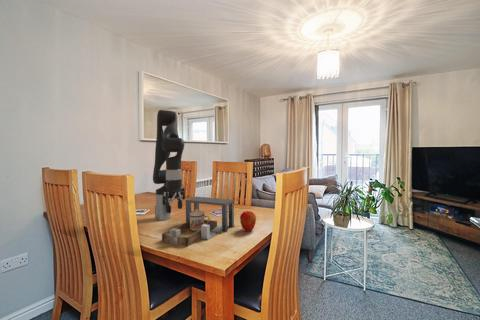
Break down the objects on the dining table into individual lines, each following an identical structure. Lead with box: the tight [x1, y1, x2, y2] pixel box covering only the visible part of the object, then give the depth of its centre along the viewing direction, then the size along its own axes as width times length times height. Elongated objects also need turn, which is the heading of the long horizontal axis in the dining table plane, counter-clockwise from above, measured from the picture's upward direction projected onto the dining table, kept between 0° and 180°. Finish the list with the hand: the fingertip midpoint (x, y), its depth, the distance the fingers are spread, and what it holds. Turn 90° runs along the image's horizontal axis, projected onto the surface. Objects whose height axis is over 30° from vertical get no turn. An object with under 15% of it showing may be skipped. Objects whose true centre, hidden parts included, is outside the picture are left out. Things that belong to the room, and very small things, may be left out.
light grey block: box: [199, 224, 216, 241], centre depth 125 cm, size 4×8×7 cm, turn 157°
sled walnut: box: [161, 218, 218, 247], centre depth 129 cm, size 16×30×7 cm, turn 157°
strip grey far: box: [211, 224, 222, 234], centre depth 136 cm, size 4×11×1 cm, turn 157°
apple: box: [239, 210, 257, 232], centre depth 134 cm, size 9×9×12 cm
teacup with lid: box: [189, 208, 211, 232], centre depth 139 cm, size 12×9×12 cm
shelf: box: [185, 196, 235, 233], centre depth 142 cm, size 27×11×16 cm, turn 67°
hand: (174, 210), depth 116 cm, fingers open, 8 cm apart
